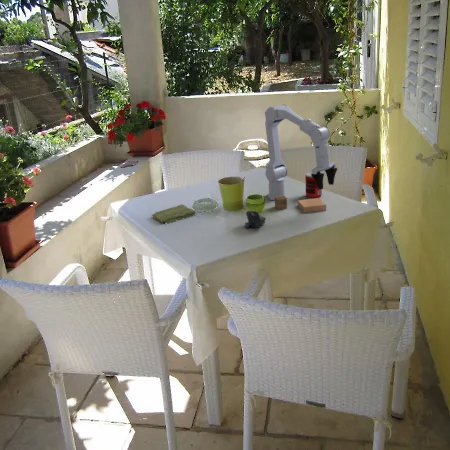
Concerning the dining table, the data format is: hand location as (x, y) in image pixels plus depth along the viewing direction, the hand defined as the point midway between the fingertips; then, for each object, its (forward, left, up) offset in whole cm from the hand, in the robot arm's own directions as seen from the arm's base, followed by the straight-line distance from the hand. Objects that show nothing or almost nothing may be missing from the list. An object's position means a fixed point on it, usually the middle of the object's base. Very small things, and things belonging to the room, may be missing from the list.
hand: (326, 186), depth 212 cm
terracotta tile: (-4, -5, -11) cm, 13 cm away
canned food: (-20, +1, -11) cm, 23 cm away
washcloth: (-14, -67, -11) cm, 70 cm away
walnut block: (-9, -18, -11) cm, 23 cm away
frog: (+10, -34, -11) cm, 37 cm away
